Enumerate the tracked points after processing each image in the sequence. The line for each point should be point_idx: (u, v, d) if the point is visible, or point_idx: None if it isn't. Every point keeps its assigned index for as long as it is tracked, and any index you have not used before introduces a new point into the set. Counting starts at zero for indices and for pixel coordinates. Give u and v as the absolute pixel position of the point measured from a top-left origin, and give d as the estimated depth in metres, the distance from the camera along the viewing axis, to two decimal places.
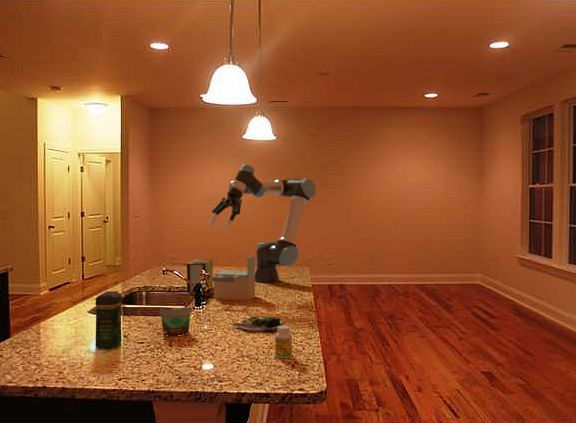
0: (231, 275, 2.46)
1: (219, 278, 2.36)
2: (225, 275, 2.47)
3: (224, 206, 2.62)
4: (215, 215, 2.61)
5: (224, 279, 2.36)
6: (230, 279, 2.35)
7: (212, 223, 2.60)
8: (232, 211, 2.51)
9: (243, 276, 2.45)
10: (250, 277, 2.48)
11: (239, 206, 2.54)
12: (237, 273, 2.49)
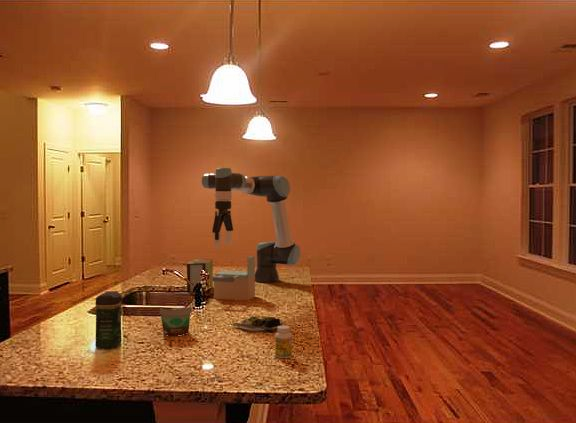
0: (231, 275, 2.46)
1: (219, 278, 2.36)
2: (225, 275, 2.47)
3: (225, 221, 2.40)
4: (226, 232, 2.43)
5: (224, 279, 2.36)
6: (230, 279, 2.35)
7: (228, 242, 2.43)
8: (212, 231, 2.29)
9: (243, 276, 2.45)
10: (250, 277, 2.48)
11: (217, 221, 2.29)
12: (237, 273, 2.49)
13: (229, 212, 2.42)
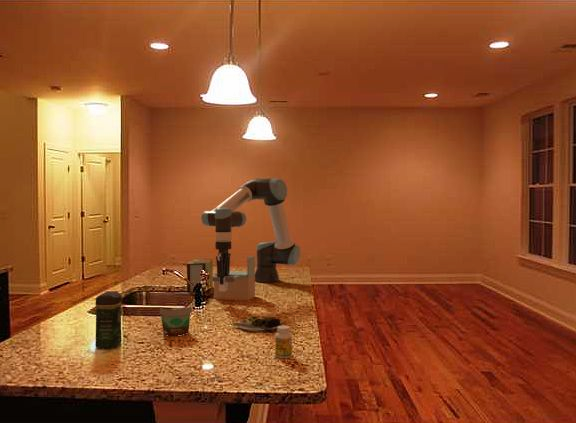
0: (231, 275, 2.46)
1: None
2: None
3: None
4: None
5: None
6: (230, 279, 2.35)
7: (224, 287, 2.38)
8: None
9: (243, 276, 2.45)
10: (250, 277, 2.48)
11: (220, 267, 2.32)
12: (237, 273, 2.49)
13: (229, 254, 2.42)
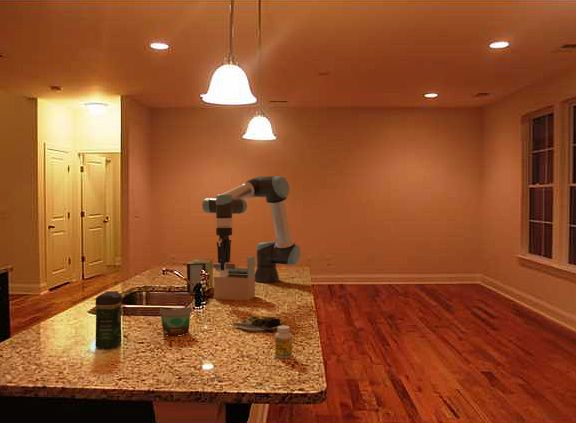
0: (231, 268, 2.47)
1: None
2: None
3: None
4: None
5: None
6: (231, 265, 2.36)
7: None
8: (218, 262, 2.36)
9: (243, 269, 2.45)
10: (250, 277, 2.48)
11: (220, 253, 2.32)
12: None
13: (230, 241, 2.42)
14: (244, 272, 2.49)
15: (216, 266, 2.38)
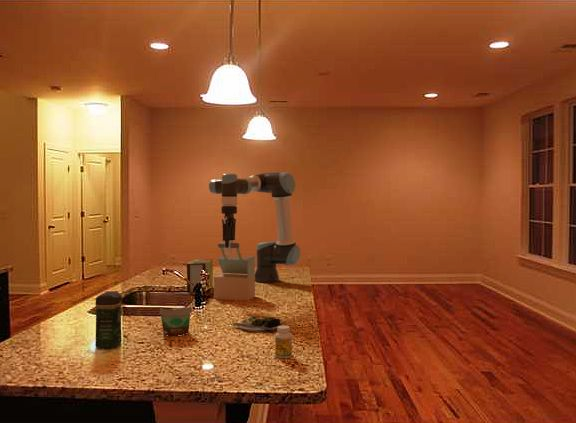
0: (234, 258, 2.50)
1: None
2: (228, 258, 2.50)
3: None
4: None
5: None
6: (235, 243, 2.42)
7: (230, 251, 2.45)
8: None
9: (245, 258, 2.48)
10: (250, 277, 2.48)
11: (225, 230, 2.38)
12: None
13: (234, 219, 2.48)
14: (245, 265, 2.50)
15: (221, 244, 2.43)
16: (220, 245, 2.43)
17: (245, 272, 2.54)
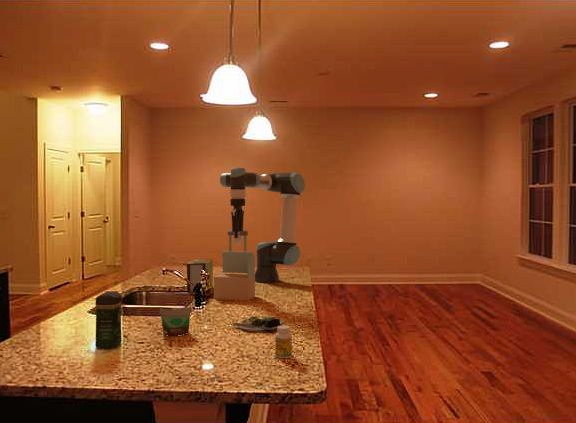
0: None
1: None
2: (233, 251, 2.57)
3: None
4: None
5: None
6: None
7: (238, 242, 2.57)
8: (232, 231, 2.54)
9: (250, 252, 2.55)
10: (250, 277, 2.48)
11: (234, 222, 2.50)
12: None
13: (243, 211, 2.60)
14: None
15: (230, 231, 2.56)
16: (230, 231, 2.56)
17: (245, 270, 2.55)
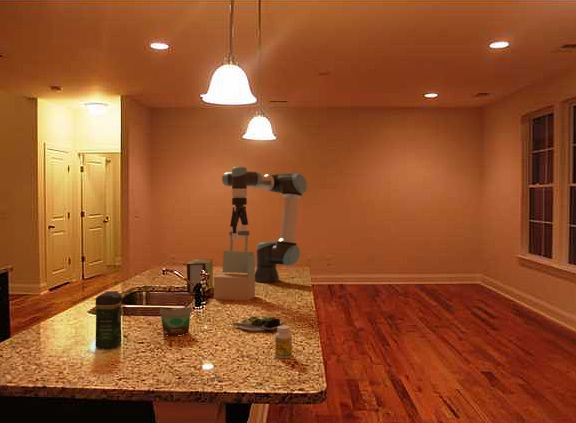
0: None
1: None
2: (233, 251, 2.58)
3: (241, 216, 2.61)
4: (242, 226, 2.65)
5: None
6: None
7: (243, 235, 2.65)
8: (230, 225, 2.51)
9: None
10: (250, 277, 2.48)
11: (234, 216, 2.50)
12: None
13: (244, 208, 2.63)
14: None
15: None
16: (231, 231, 2.58)
17: (245, 270, 2.55)
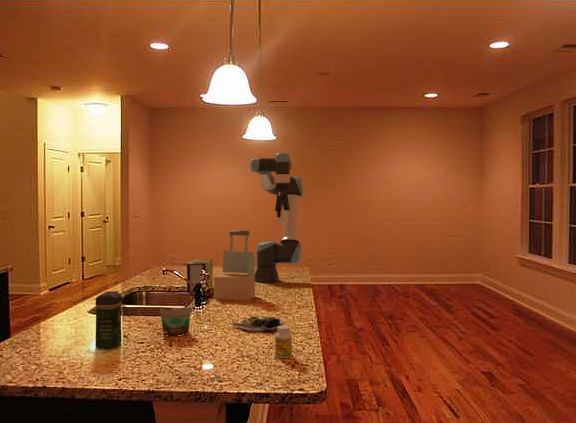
0: None
1: None
2: (233, 251, 2.58)
3: (283, 201, 2.67)
4: (284, 211, 2.71)
5: None
6: None
7: (285, 220, 2.71)
8: None
9: None
10: (250, 277, 2.48)
11: (279, 201, 2.56)
12: None
13: (287, 193, 2.69)
14: None
15: (232, 230, 2.59)
16: (231, 231, 2.58)
17: (245, 270, 2.55)
